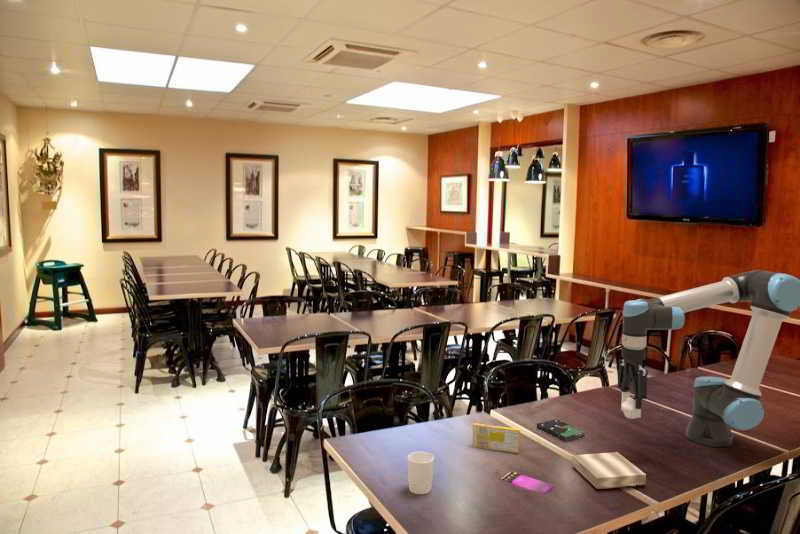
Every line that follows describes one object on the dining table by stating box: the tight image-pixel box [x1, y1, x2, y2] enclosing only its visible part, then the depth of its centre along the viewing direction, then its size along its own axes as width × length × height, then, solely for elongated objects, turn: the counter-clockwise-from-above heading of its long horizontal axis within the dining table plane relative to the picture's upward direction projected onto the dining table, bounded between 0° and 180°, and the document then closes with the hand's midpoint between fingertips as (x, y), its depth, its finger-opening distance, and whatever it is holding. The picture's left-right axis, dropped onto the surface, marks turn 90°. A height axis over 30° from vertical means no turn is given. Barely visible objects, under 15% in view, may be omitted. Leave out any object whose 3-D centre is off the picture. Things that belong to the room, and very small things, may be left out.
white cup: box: [406, 451, 435, 495], centre depth 171 cm, size 8×8×10 cm
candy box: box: [471, 422, 521, 454], centre depth 200 cm, size 16×2×8 cm, turn 71°
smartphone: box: [499, 470, 555, 496], centre depth 177 cm, size 7×15×1 cm, turn 50°
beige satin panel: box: [571, 451, 647, 490], centre depth 181 cm, size 16×16×4 cm
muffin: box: [620, 396, 635, 419], centre depth 194 cm, size 6×6×7 cm
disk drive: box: [536, 419, 586, 443], centre depth 215 cm, size 10×3×15 cm
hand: (630, 413), depth 195 cm, fingers closed on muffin, 6 cm apart
